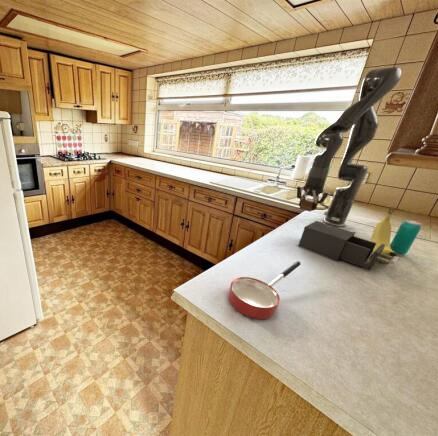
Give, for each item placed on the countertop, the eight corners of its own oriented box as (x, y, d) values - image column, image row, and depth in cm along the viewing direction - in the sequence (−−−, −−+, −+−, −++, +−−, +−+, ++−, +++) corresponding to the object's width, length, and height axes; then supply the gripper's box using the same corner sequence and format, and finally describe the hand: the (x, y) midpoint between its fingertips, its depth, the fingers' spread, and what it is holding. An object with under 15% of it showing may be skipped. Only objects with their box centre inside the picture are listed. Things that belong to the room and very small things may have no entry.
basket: (393, 267, 89) (402, 250, 86) (386, 277, 83) (396, 258, 80) (336, 247, 103) (343, 231, 100) (327, 254, 96) (334, 238, 93)
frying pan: (268, 264, 89) (272, 250, 86) (306, 282, 79) (312, 266, 77) (219, 299, 69) (223, 282, 67) (262, 328, 60) (268, 309, 58)
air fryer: (346, 252, 101) (355, 232, 97) (337, 261, 94) (346, 240, 90) (309, 239, 111) (316, 220, 108) (298, 245, 104) (304, 226, 100)
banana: (396, 272, 88) (423, 224, 80) (376, 267, 91) (400, 220, 83) (379, 248, 106) (400, 207, 98) (363, 244, 109) (382, 204, 101)
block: (303, 206, 124) (306, 197, 122) (313, 209, 120) (316, 200, 118) (299, 208, 121) (302, 199, 119) (309, 211, 117) (312, 202, 115)
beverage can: (397, 250, 105) (414, 220, 99) (409, 257, 100) (427, 225, 94) (383, 249, 106) (399, 218, 100) (394, 255, 100) (411, 224, 95)
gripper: (337, 178, 111) (325, 211, 117) (304, 172, 121) (295, 203, 128) (331, 180, 106) (319, 214, 113) (298, 173, 117) (288, 205, 124)
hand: (306, 208), depth 120 cm, fingers closed on block, 5 cm apart
